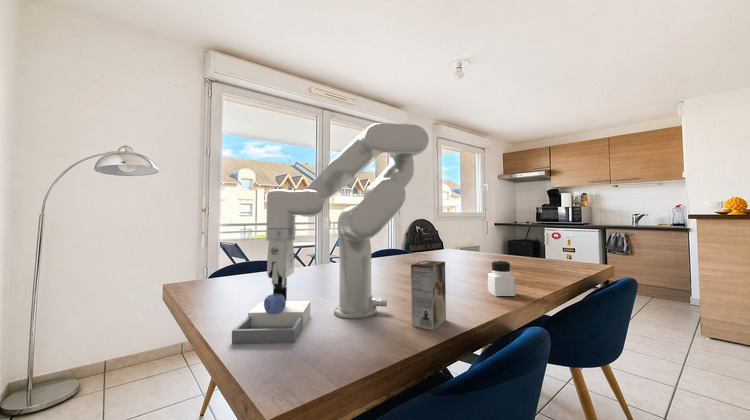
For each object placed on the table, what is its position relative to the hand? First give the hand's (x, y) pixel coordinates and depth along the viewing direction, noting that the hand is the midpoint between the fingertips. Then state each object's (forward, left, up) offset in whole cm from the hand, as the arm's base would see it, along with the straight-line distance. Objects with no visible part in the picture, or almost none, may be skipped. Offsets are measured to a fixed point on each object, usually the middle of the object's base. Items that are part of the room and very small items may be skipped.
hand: (279, 301), depth 83 cm
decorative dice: (0, +4, -1) cm, 5 cm away
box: (0, +10, -5) cm, 11 cm away
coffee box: (-40, +3, -5) cm, 41 cm away
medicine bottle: (-72, -25, -5) cm, 77 cm away
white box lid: (0, 0, -5) cm, 5 cm away
